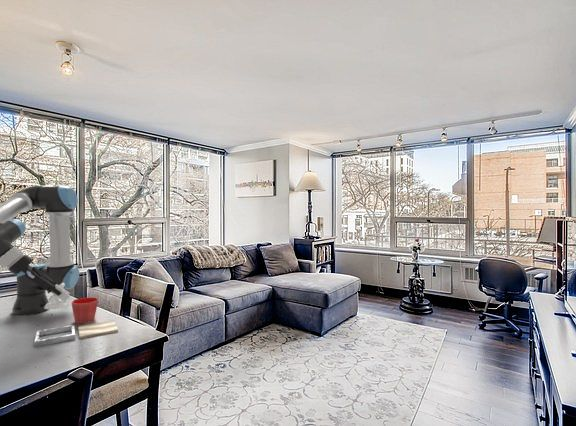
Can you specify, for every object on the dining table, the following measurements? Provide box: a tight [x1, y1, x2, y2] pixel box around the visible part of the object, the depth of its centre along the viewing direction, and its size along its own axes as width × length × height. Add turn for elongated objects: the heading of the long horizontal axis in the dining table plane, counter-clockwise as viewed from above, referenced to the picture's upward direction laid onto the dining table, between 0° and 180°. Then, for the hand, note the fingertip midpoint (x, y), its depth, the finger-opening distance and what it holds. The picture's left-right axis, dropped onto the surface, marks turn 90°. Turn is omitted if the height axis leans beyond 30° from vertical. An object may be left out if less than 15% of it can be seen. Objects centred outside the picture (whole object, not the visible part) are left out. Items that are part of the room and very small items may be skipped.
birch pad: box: [77, 320, 119, 340], centre depth 140 cm, size 14×14×1 cm
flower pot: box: [71, 297, 99, 324], centre depth 152 cm, size 11×11×10 cm
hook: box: [44, 283, 68, 310], centre depth 131 cm, size 8×12×7 cm
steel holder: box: [33, 324, 76, 347], centre depth 131 cm, size 13×13×2 cm
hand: (67, 297), depth 134 cm, fingers closed on hook, 4 cm apart
